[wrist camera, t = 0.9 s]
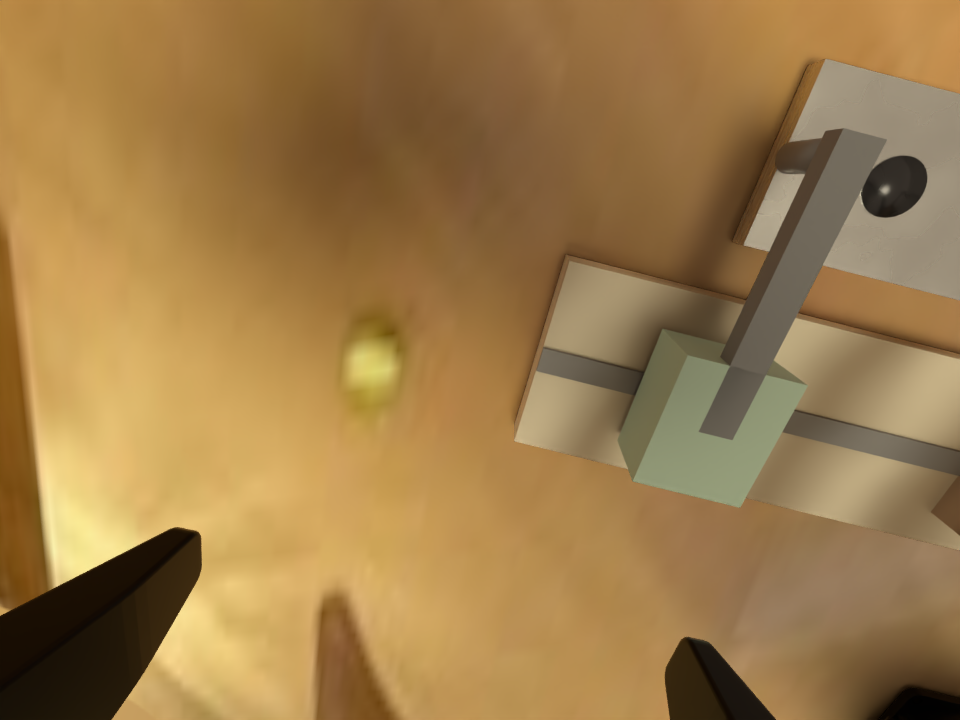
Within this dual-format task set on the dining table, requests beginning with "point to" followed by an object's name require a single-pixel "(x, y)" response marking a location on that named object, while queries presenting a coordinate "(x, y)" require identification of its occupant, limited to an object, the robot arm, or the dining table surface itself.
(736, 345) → the slider leg
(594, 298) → the board
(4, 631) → the robot arm
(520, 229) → the dining table surface
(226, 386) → the dining table surface
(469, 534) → the dining table surface
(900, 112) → the bolt hole plate
